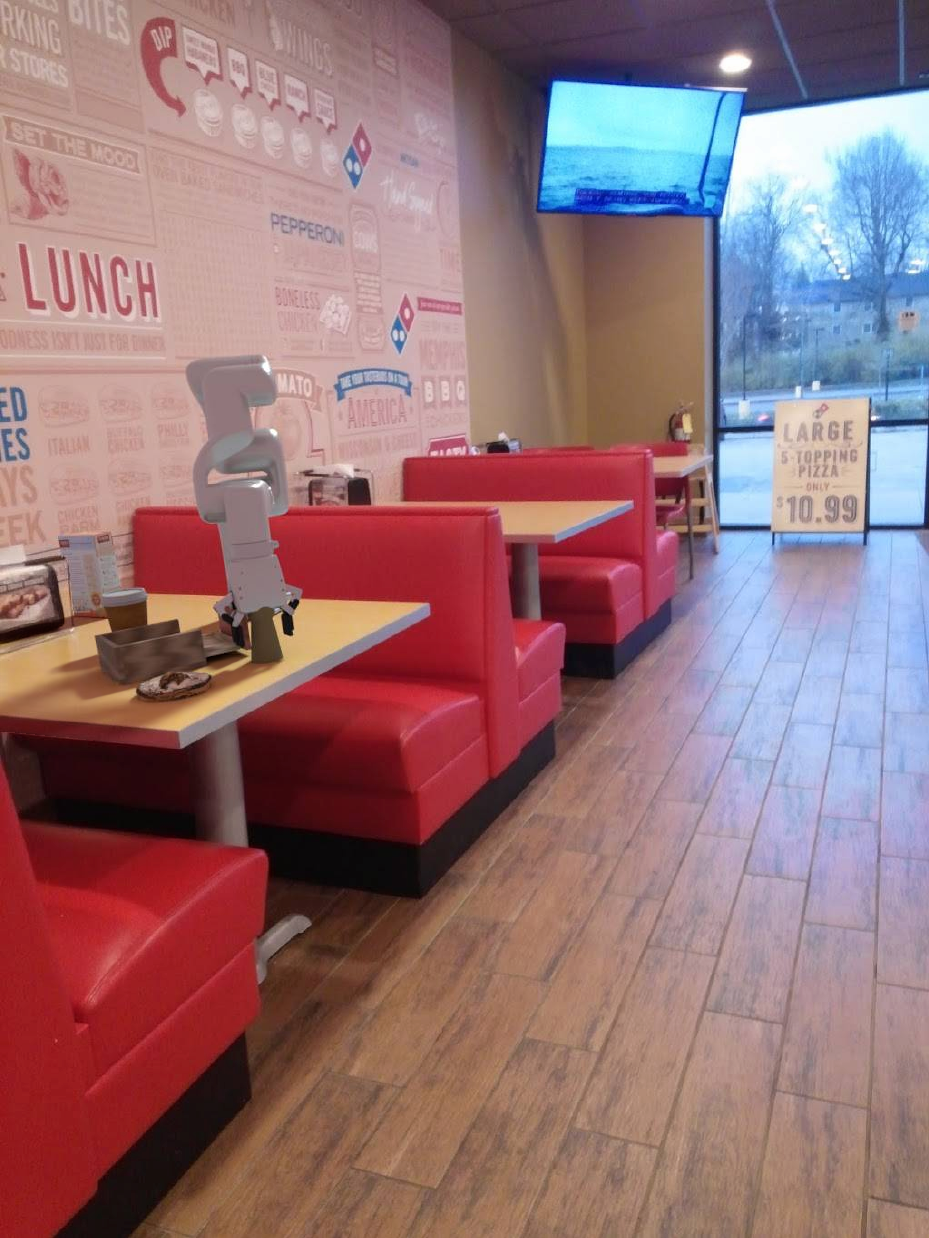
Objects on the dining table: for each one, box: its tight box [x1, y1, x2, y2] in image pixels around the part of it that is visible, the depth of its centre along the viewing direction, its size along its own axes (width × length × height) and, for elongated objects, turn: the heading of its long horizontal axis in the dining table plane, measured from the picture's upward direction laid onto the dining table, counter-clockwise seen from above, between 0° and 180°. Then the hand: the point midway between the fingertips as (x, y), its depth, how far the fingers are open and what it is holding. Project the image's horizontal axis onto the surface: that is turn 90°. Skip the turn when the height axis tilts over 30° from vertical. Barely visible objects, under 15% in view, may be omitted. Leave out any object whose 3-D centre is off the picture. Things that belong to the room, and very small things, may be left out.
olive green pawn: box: [247, 607, 284, 664], centre depth 185 cm, size 6×6×11 cm
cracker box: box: [57, 531, 122, 619], centre depth 245 cm, size 14×6×21 cm, turn 58°
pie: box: [132, 671, 213, 703], centre depth 169 cm, size 15×15×4 cm
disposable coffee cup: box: [100, 587, 149, 632], centre depth 205 cm, size 10×10×12 cm
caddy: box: [94, 618, 208, 686], centre depth 186 cm, size 16×15×7 cm
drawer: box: [202, 600, 251, 658], centre depth 191 cm, size 16×14×8 cm
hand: (264, 640), depth 185 cm, fingers open, 9 cm apart
